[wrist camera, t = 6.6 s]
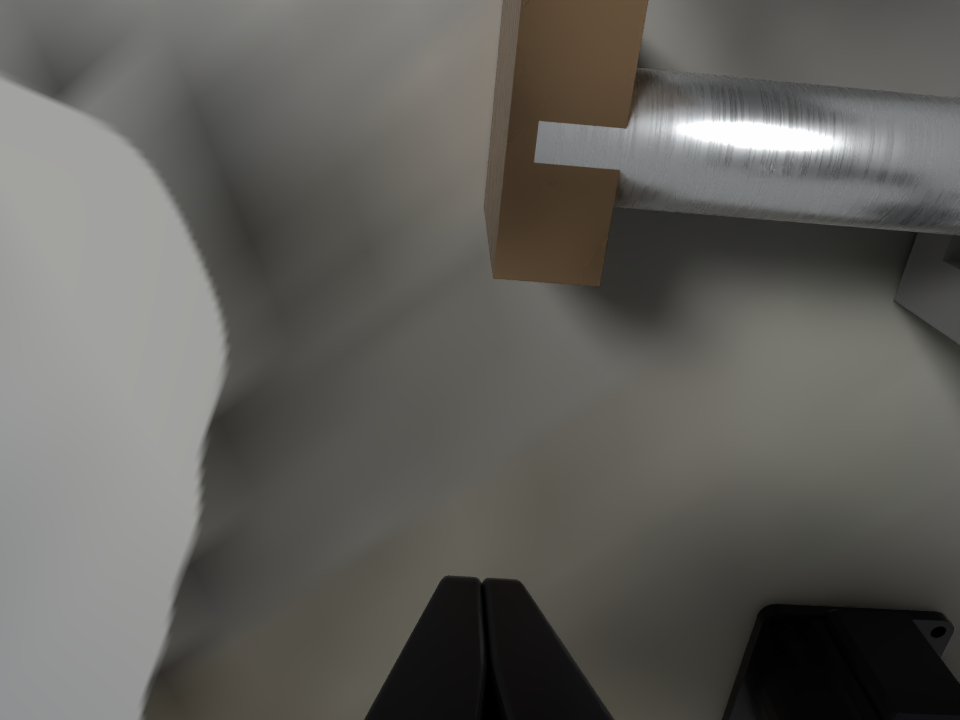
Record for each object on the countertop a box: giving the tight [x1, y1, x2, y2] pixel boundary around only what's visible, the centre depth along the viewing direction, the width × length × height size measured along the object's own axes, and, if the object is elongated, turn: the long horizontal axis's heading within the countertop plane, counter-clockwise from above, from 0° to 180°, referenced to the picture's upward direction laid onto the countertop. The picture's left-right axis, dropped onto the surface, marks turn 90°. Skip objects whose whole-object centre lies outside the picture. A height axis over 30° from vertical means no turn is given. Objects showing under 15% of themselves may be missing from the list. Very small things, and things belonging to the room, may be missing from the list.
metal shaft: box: [484, 0, 960, 287], centre depth 15 cm, size 19×5×5 cm, turn 85°
